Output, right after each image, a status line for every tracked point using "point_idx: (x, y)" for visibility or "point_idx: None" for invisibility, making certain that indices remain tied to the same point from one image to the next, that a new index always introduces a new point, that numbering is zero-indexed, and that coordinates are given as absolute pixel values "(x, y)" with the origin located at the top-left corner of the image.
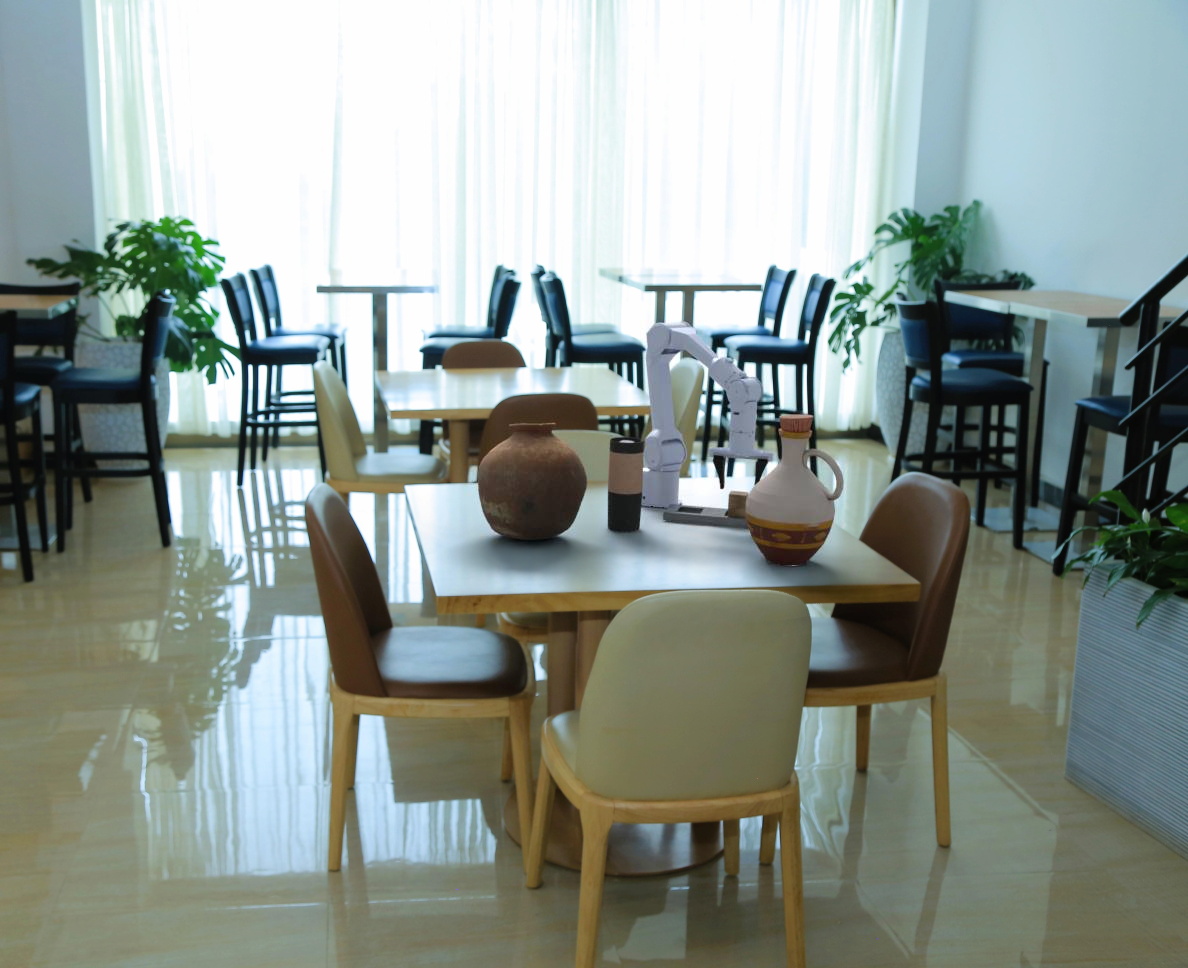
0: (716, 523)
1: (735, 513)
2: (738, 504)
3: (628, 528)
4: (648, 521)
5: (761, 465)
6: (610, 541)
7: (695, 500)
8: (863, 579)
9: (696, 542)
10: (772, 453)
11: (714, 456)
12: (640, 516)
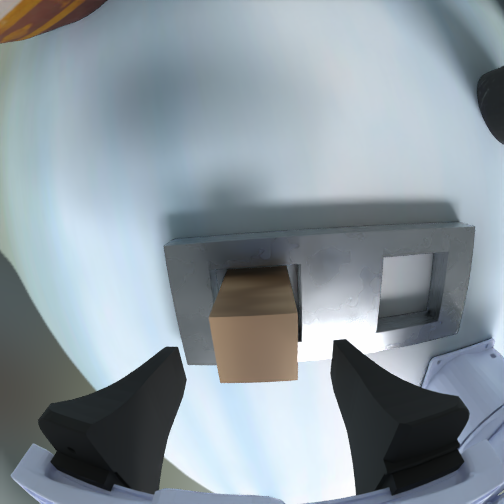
0: (317, 229)
1: (259, 280)
2: (247, 295)
3: (488, 72)
4: (483, 200)
5: (61, 412)
6: (469, 7)
7: None
8: None
9: (317, 7)
10: (11, 476)
11: (455, 459)
12: (499, 102)
